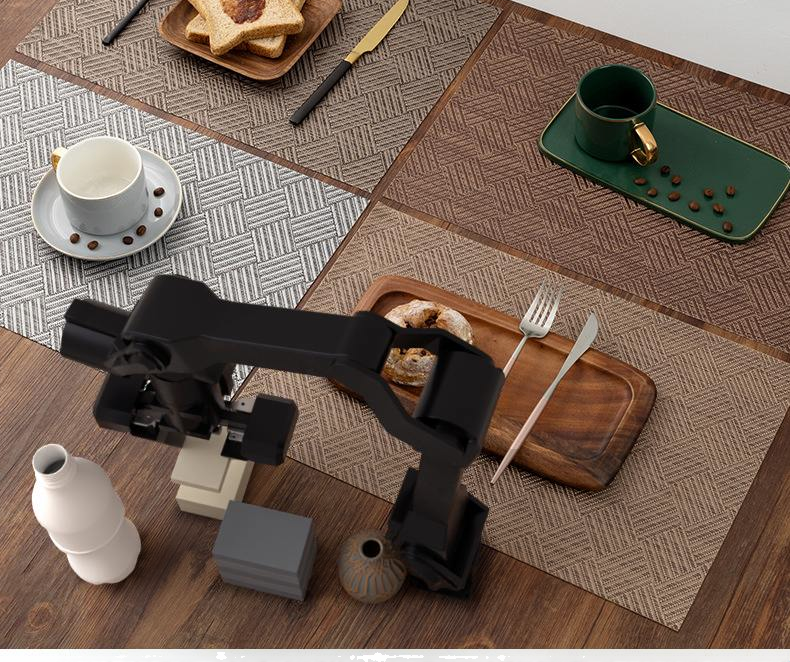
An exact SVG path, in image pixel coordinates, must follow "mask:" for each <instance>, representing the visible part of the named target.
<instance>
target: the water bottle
mask: <svg viewBox="0 0 790 662" xmlns="http://www.w3.org/2000/svg"><path fill="white" fill-rule="evenodd" d="M31 463H32V468H33V471H34V473H35V474H34V475H35V479H36V480H35V483H34V484H33V485H34V486H33V490H32V493H31V494H32V495H31V504H32V510H33V513H34V515H35V518H36V521H38V523H39V524H40V525H41V527H43V528H44V529H45V530H46V531H47V533H48V535H49V538H50V539H51V541H52V542H53V544H54V545H55V547H56V548H57V549H59V550H60V551H61V552H62V553H65V554H66V557H67V560H68V563H69V565H70V567H71V569H72V571H74V573H75V574H76V575H77V576H78V577H79V578H81V579H82V581H83V580H84V581H85V582H87V583H88V584H91V585H95V586H100V585H102V584H116V583H119V582H122V581H123V580H125V579H126V578H128V576H129V575H131V573H132V572H133V571H134V570H135V568H136V565H137V563H138V557H139V555H140V552H141V551H142V544H141V543H142V541H141V538H140V533H139V531H138V529H137V527H136V525H135V524H134V523H133V522H132V521H131V520H130V519H129V518H127V517H126V511H125V505H124V503H123V501H122V499H121V496H120V495H119V494H118V493H117V491H116V490H115V489H114V487H113V484H112V480H111V479H110V477H109V475H108V474H107V472H106V471H105V470H104V468H103V467H101V466H100V465H99V464H98V463H96V462H94V461H92V460H91V459H88V458H85V457H80V456H79V457H78V456H73V455H72V454H71V453H69V452H67V449H66V448H64V447H63V446H62V445H61V444H57V443H48V444H45V445H42V446H41V447H40V448H39V449H37V450H36V451H35V453H34V455H33V457H32V462H31Z"/></svg>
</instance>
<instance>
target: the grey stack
mask: <svg viewBox="0 0 790 662" xmlns="http://www.w3.org/2000/svg"><path fill="white" fill-rule="evenodd" d="M318 551H319V550H318V544H317V537H316V532H315V526H314V519H313V518H311V517H307V516H302V515H298V514H294V513H289V512H285V511H281V510H277V509H273V508H268V507H263V506H260V505H255V504H250V503H247V502H243V501H242V502H238V501H233V500H229V503H228V506H227V509H226V512H225V515H224V518H223V520H221V523H220V527H219V530H218V533H217V536H216V539H215V541H214V545H213V548H212V550H211V554H212V556H213V559H214V562H215V565H216V567H217V570H218V572H219V575H220V578H221V579H222V582H223V583H224V584H230V585H233V586H238V587H241V588H246V589H250V590H254V591H259V592H261V593H262V592H263V593H267V594H271V595H274V596H279V597H284V598H286V599H287V598H288V599H292V600H296V601H301V602H304V601H305V597H306V593H307V590H308V586H309V583H310V579H311V575H312V571H313V568H314V566H315V565H314V564H315V561H316V557H317V555H318Z"/></svg>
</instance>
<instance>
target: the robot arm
mask: <svg viewBox="0 0 790 662" xmlns="http://www.w3.org/2000/svg"><path fill="white" fill-rule="evenodd" d="M63 318H64V320H65V322H64V323H65V324H64V326H63V330H62V334H61V338H60V348H59V353H60V356H61V357H62V358H64V359H66V360H68V361H73V362H76V363H78V364H81V365H84V366H87V367H89V368H93V369H95V370H99V371H102V372H104V373H106V375H105V377H104V380H103V382H102V384H101V387H100V388H99V391H98V394H97V395H96V398H95V401H94V403H93V406H92V416H93V418H94V420H95V422H96V424H97V425H98V427H99V428H100V429H105V430H110V431H113V432H118V433H123V434H126V433H129V434H130V435H131V436H132V437H134V438H139V439H141V440H146V441H149V442H153V443H158V444H162V445H166V446H169V447H173V448H176V449H181V448H182V446H183V444H184V441H185V438H186V436H191V437H195V438H200V439H204V440H210V437H211V434H214V435H220V434H221V431H222V426H225V427H227V433H228V434H227V437H226V440H225V443H224V446H223V449H222V452H221V454H220V455H221V456H222V457H225V458H227V459H230V460H241V461H249V460H250V461H252V462H255V463H257V464H261V465H266V466H271V467H275V468H277V467H279V466H281V465H283V464H285V462H286V459H287V455H288V452H289V449H290V446H291V443H292V439H293V436H294V432H295V430H296V426H297V424H298V419H299V417H300V412H299V407H298V404H297V403H296V401H295V399H291V398H288V397H287V398H286V397H283V396H278V395H274V394H268V393H263V392H259V393H258V394H257V395H256V396H255V399H253V398H249V397H245V396H243V397H240V398H238V399H237V400H236V401H231V400H227V399H225V398H226V396H228V397H230V396H231V395H232V392H233V389H234V386H235V382H234V379H233V376H234V375H233V374H234V372H235V369H236V367H237V365H238V366H239V365H240V366H245V367H246V366H247V367H252V368H259V369H265V370H272V371H278V372H285V373H292V374H298V375H303V376H305V375H306V376H311V377H318V378H325V379H331V380H335V381H336V382H338V383H339V384H341V385H342V386H344V387H346V388H348V389H350V390H351V391H353V392H355V393H356V394H358V395H360V396H361V397H362V399H363V400H364V401H365V403H366V404H367V406H368V407H369V409H370V410H371V412H372V413H373V414H374V416H375V417H376V419H377V421H378V422H379V423H380V425H381V426H382V427H383V429H384V431H385V432H386V433H387V434H388V435H390V436H391V437H394V438H395V439H397V440H399V441H401V442H403V443H404V444H407V445H408V446H410V447H411V449H412V451H414V452H417V453H419V454H420V458H419V463H418V468H415V467H412V466H408V467H407V470H406V472H405V474H404V477H403V480H402V483H401V486H400V488H399V491H398V493H397V496H396V498H395V501H394V503H393V506H392V508H391V512H390V514H389V517H388V518H387V519H388V520H387V527H386V528H387V529H386V531H385V532H386V534H385V537H384V538H385V539H387V540H391V546H392V548H393V549H394V550H395V551H396V552H399V554H398V556H399V558H400V559H401V561H402V562H403V563H404V565H405V566H406V568H407V570H408V573H410V577H409V580H408V586H409V588H410V589H413V590H415V591H420V592H425V593H430V594H433V595H438V596H441V597H445V598H446V597H447V598H450V599H454V600H457V601H463V602H470V601H471V600H472V597H473V592H474V586H475V581H476V576H477V571H478V567H479V562H480V556H481V552H482V546H483V542H482V538H483V536H482V535H483V532H484V529H485V525H486V522H487V519H488V516H489V513H490V510H491V508H490V507H489V506H487V505H486V504H485V503H484V502H482V501H481V500H480V499H479V498H477V497H476V496H475V495H473V494H472V493H471V492H470V491H468V487H467V484H465V483H462V481H463V477H464V473H465V470H466V469H469V468H470V467H471V465H472V464H473V463H474V462H475V461H476V460H477V458H478V457H479V456H480V455H481V451H482V448H483V446H484V443H485V440H486V437H487V434H488V432H489V429H490V425H491V423H492V419H493V417H494V414H495V411H496V408H497V405H498V402H499V399H500V397H501V395H502V394H501V393H502V391H503V388H504V385H505V382H506V374H505V372H504V370H503V369H502V367H500V366H496V364H495V360H494V359H493V357H492V356H491V355H489V354H487V353H486V352H485V351H483V350H482V349H480V348H479V347H477V346H475V345H473V344H471V343H470V342H468V341H466V340H465V339H463V338H461V337H459V336H457V335H456V334H454V333H453V332H450V331H448V329H446V328H442V327H403V326H401V325H400V324H397V323H395V322H394V321H392V320H390V319H388V318H386V317H385V316H383V315H381V314H380V313H377V312H375V311H369V310H357V311H354V312H353V314H352V315H348V314H340V313H333V312H332V313H330V312H324V311H323V312H322V311H316V310H308V309H307V310H306V309H299V308H290V307H283V306H274V305H267V304H260V303H259V304H258V303H252V302H251V303H249V302H242V301H235V300H230V299H225V298H221V297H219V296H218V295H217V294H216V293H215V292H214V290H212V289H211V288H210V286H209V285H208V284H207V283H206V282H204V281H202V280H197V279H193V278H191V277H188V276H186V275H183V274H180V273H172V274H170V273H161V274H160V273H159V274H156V275H154V276H153V277H152V279H151V280H150V281H149V283H148V285H147V287H145V290H144V291H143V292H142V295H141V296H140V298H139V299H137V301H136V302H135V304H134V306H133V308H132V309H131V310H127V309H124V308H122V307H118V306H115V305H112V304H108V303H106V302H102V301H99V300H96V299H94V298H91V297H85V298H83V299H80V298H77V297H74V298H73V299H72V301H71V303H70V304H69V306H68V308H67V309H66V310H65V312H64V314H63ZM393 349H423V350H425V351H426V352H428V353H430V354H431V355H433V356H435V357H434V359H433V362H432V365H431V366H430V370H429V371H428V375H427V377H426V380H425V382H424V384H423V387H422V391H421V393H420V395H419V398H418V401H417V403H416V405H415V408H414V411H413V413H412V415H411V414H409V412H408V410H407V409H406V408H405V406H404V405H403V403H402V402H401V400H400V399H399V397H398V396H397V394H396V393H395V391H394V390H393V388H392V386H391V385H390V384H389V383H388V381H387V379H386V378H384V376H382V374H383V371H384V369H385V367H386V364H387V362H388V359H389V357H390V354H391V353H392V350H393ZM148 381H149V382H148ZM218 425H220V426H219V427H218ZM413 582H414V583H415V584H412V583H413ZM465 595H468V597H466V596H465Z"/></svg>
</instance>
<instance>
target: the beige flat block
mask: <svg viewBox="0 0 790 662" xmlns="http://www.w3.org/2000/svg"><path fill="white" fill-rule="evenodd" d="M219 426H220V425H218V427H219ZM227 434H228V433H227V427H225V426H222V431H221V434H220V435H214V434H211V437H210V440H204V439H200V438H195V437H191V436H186V438H185V441H184V444H183V446H182V448H180V451H179V454H178V457H177V459H176V461H175V462H176V463H175V465H174V466H173V467H174V468H173V470H172V472H171V475H170V480H171V482H172V483H173V484H175V485H176V484H177V485H179V486H180V485H185V486H189V487H194V488H198V489H202V490H207V491H211V492H215V493H220V492H221V489H222V486H223V483H224V480H225V477H226V474H227V471H228V468H229V466H230V463H231V460H230V459H227V458H225V457H222V456H221V455H220V454H221V452H222V449H223V446H224V443H225V440H226V437H227Z"/></svg>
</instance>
